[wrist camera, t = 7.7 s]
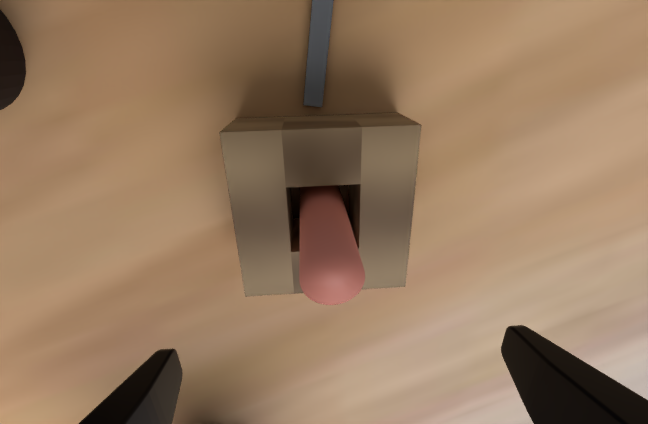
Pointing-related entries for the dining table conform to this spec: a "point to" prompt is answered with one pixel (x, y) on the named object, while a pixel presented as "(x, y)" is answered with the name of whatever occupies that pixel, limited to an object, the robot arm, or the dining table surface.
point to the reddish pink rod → (327, 248)
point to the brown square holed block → (320, 170)
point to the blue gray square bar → (317, 51)
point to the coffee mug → (10, 63)
